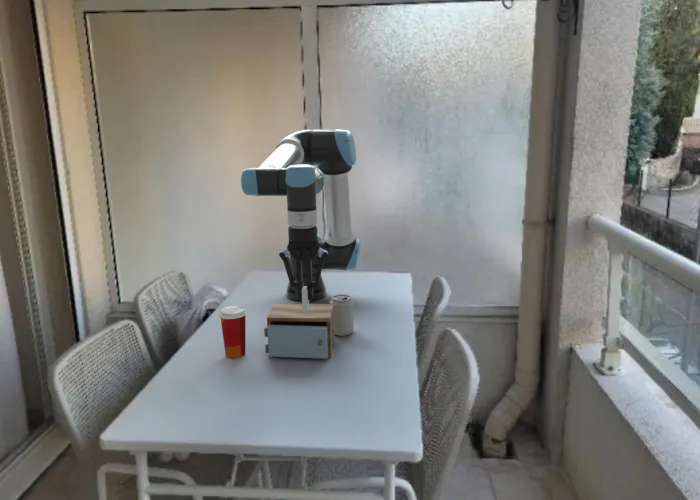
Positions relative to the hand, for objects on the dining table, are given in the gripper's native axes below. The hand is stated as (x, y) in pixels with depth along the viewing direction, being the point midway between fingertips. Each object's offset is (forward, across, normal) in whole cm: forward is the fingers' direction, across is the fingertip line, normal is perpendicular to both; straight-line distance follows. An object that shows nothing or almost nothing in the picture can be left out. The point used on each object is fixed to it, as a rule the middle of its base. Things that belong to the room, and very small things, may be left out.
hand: (305, 310), depth 153 cm
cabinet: (+17, -3, +12) cm, 21 cm away
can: (+17, +8, +25) cm, 31 cm away
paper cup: (+17, -22, +7) cm, 29 cm away
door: (+16, -4, +4) cm, 17 cm away
